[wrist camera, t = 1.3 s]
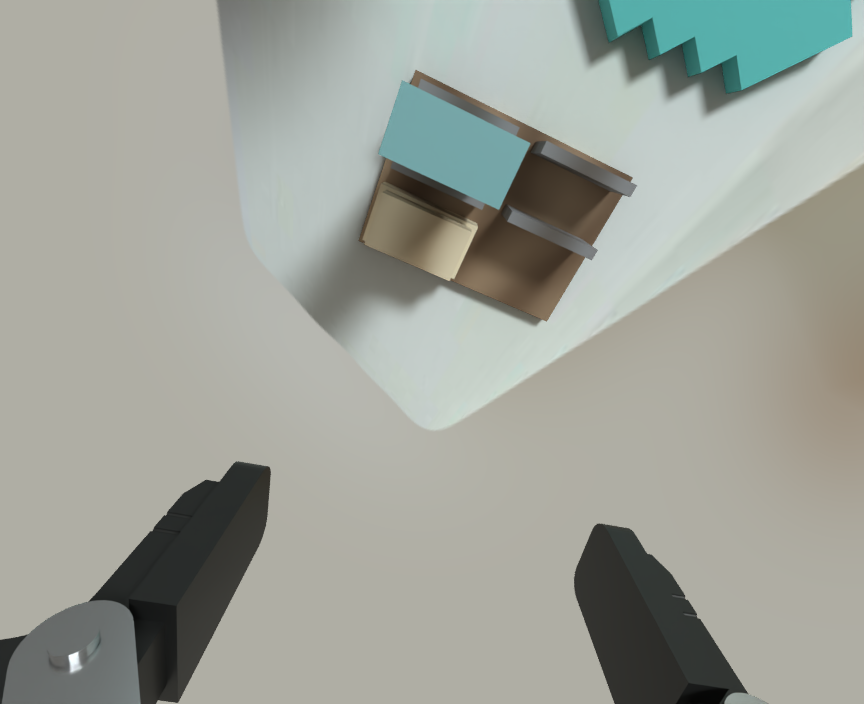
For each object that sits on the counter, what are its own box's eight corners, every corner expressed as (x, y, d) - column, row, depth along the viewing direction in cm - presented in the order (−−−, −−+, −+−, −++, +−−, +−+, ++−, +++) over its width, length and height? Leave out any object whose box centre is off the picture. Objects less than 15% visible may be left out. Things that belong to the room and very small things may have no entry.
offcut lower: (366, 235, 34) (362, 239, 33) (385, 181, 32) (381, 183, 31) (454, 272, 35) (454, 279, 34) (476, 223, 34) (478, 227, 32)
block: (416, 150, 31) (378, 154, 15) (429, 116, 30) (402, 80, 14) (476, 178, 32) (498, 209, 16) (490, 145, 31) (530, 143, 15)
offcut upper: (369, 239, 33) (364, 244, 31) (386, 189, 31) (382, 192, 29) (449, 274, 33) (449, 281, 32) (470, 227, 32) (471, 232, 30)
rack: (360, 238, 35) (347, 251, 31) (416, 72, 30) (410, 58, 25) (544, 317, 38) (556, 339, 33) (627, 176, 32) (655, 181, 28)
